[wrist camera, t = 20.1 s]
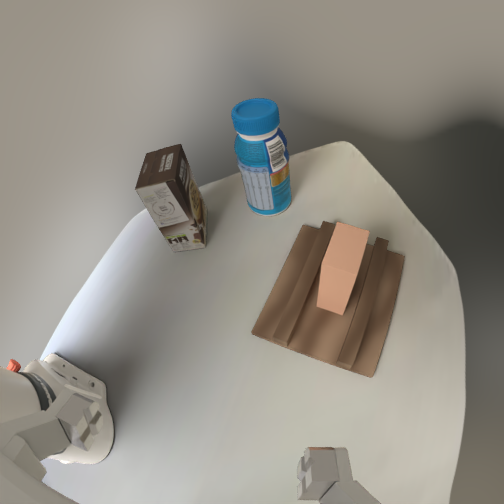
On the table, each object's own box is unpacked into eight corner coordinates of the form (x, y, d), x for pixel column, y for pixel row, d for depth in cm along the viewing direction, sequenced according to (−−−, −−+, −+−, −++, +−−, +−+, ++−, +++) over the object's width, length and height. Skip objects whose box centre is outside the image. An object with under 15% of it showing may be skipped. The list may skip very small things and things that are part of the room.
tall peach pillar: (316, 306, 40) (321, 263, 30) (329, 271, 42) (337, 221, 32) (342, 315, 38) (357, 274, 28) (354, 279, 41) (369, 231, 31)
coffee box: (207, 247, 50) (174, 180, 36) (173, 253, 50) (132, 190, 37) (208, 209, 55) (182, 142, 41) (177, 214, 55) (145, 151, 42)
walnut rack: (252, 334, 40) (248, 326, 37) (302, 228, 49) (302, 215, 46) (371, 377, 33) (377, 373, 31) (402, 259, 42) (408, 247, 39)
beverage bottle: (247, 220, 51) (222, 126, 35) (247, 188, 56) (226, 99, 40) (294, 215, 50) (287, 117, 34) (289, 183, 55) (280, 92, 39)
